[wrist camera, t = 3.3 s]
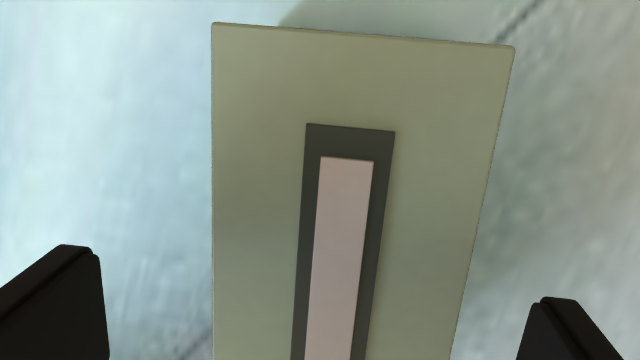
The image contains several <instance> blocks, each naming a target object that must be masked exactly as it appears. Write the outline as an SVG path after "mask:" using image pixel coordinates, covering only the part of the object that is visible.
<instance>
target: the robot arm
mask: <svg viewBox="0 0 640 360" xmlns="http://www.w3.org/2000/svg"><path fill="white" fill-rule="evenodd" d="M109 357H110V349H109V340H108V331H107V322H106V313H105V304H104V295H103V286H102V277H101V268H100V260H99V257H98V256H97V255H95V254H93V252H92V250H91V249H90V248H89V247H84V246H75V245H65V244H61V245H59V246H57V247H55V248H54V249H53V250H51V251H50V252H48V253H47V254H46V255H44V256H43V257H42V258H40V259H39V260H38V261H36V262H35V263H34V264H32V265H31V266H29V267H28V268H27V269H25V270H24V271H23V272H21V273H20V274H19V275H17V276H16V277H15V278H13V279H12V280H11V281H9V282H8V283H6V284H5V285H4V286H2V287H1V288H0V360H109ZM516 360H624V359H623V358H622V357H621V356H620V354H619V353H618V352H617V351H616V349H615V348H614V347H613V346H612V344H611V343H610V342H609V341H608V339H607V338H606V337H605V336H604V334H603V333H602V332H601V331H600V329H599V328H598V327H597V326H596V324H595V323H594V322H593V321H592V319H591V318H590V317H589V316H588V314H587V313H586V312H585V311H584V309H583V308H582V307H581V306H580V304H579V303H578V302H577V301H576V300H572V299H564V298H555V297H543V298H542V299H541V300H540V303H533V305H532V306H531V309H530V312H529V315H528V319H527V322H526V326H525V329H524V333H523V336H522V340H521V343H520V347H519V350H518V354H517V357H516Z"/></svg>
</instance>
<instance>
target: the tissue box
mask: <svg viewBox="0 0 640 360" xmlns="http://www.w3.org/2000/svg"><path fill="white" fill-rule="evenodd" d="M514 56H515V47H513V46H507V45H495V44H483V43H470V42H458V41H446V40H434V39H422V38H409V37H397V36H385V35H372V34H360V33H348V32H335V31H323V30H311V29H299V28H286V27H274V26H262V25H249V24H237V23H224V22H214V23H212V25H211V113H212V345H213V360H449V359H450V354H451V350H452V345H453V340H454V336H455V331H456V326H457V322H458V317H459V312H460V308H461V303H462V298H463V294H464V289H465V284H466V280H467V275H468V270H469V266H470V261H471V256H472V252H473V247H474V242H475V238H476V233H477V228H478V224H479V219H480V214H481V210H482V205H483V200H484V196H485V191H486V186H487V182H488V177H489V172H490V168H491V163H492V158H493V154H494V149H495V144H496V140H497V135H498V130H499V126H500V121H501V116H502V112H503V107H504V102H505V98H506V93H507V88H508V84H509V79H510V74H511V70H512V65H513V60H514Z"/></svg>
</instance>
